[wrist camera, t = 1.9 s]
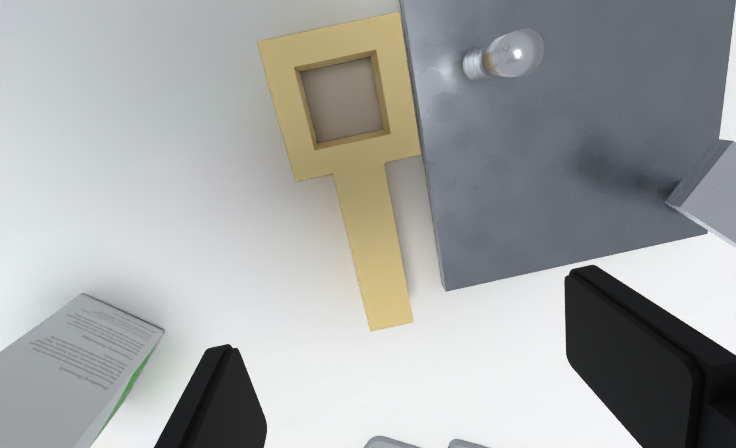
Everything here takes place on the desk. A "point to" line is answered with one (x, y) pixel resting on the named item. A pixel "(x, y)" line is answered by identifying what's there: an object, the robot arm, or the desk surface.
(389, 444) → the office telephone
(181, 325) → the desk surface
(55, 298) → the desk surface
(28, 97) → the desk surface
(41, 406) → the skincare box
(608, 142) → the pintle plate
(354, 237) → the link
